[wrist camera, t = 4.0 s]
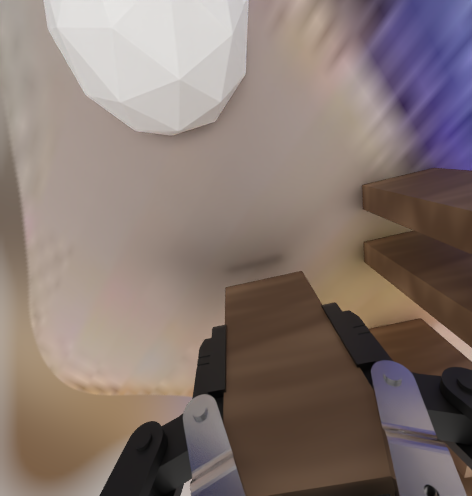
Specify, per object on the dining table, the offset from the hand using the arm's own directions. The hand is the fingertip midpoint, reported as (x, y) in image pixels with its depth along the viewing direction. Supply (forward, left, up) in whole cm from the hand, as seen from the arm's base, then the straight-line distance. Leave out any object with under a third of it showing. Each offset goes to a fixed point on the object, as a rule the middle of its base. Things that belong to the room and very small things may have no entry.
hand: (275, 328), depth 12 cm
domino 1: (0, 0, -3) cm, 3 cm away
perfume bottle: (-16, -1, -7) cm, 17 cm away
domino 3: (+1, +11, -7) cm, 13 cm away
